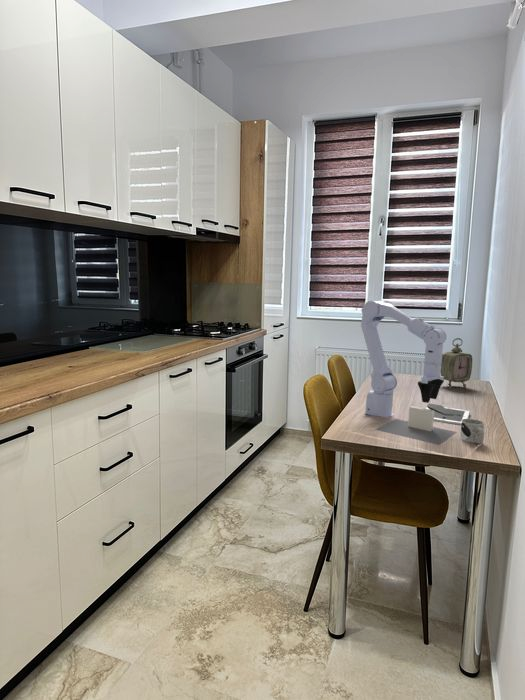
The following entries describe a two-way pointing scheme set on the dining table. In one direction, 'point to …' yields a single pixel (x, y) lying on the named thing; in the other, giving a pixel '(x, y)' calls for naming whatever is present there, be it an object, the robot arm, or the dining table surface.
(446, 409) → the picture frame
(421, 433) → the mat
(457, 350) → the tabletop clock
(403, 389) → the dining table surface
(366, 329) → the robot arm
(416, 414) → the tile
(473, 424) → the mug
